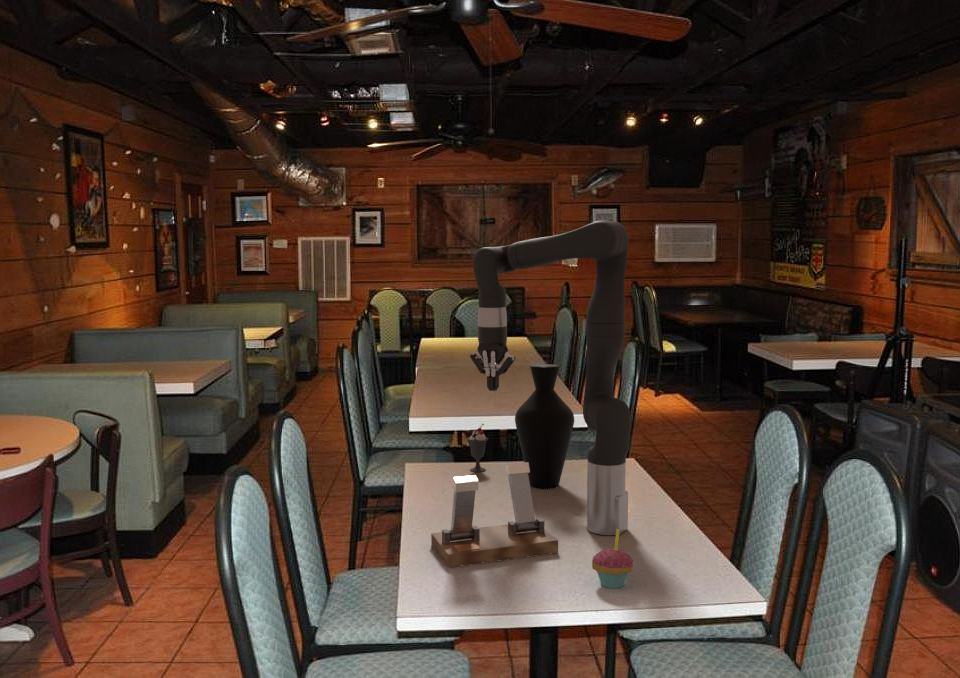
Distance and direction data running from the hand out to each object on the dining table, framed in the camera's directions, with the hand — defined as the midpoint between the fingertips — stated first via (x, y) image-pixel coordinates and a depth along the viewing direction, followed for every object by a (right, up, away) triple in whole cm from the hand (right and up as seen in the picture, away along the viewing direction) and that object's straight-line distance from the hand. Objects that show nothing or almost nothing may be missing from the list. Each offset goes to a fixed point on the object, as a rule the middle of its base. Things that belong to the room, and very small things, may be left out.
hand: (492, 390), depth 217 cm
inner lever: (+8, -31, -24) cm, 40 cm away
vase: (+15, -29, +25) cm, 41 cm away
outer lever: (-8, -32, -28) cm, 43 cm away
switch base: (0, -35, -26) cm, 43 cm away
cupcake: (+24, -38, -45) cm, 64 cm away
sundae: (-4, -28, +41) cm, 50 cm away
